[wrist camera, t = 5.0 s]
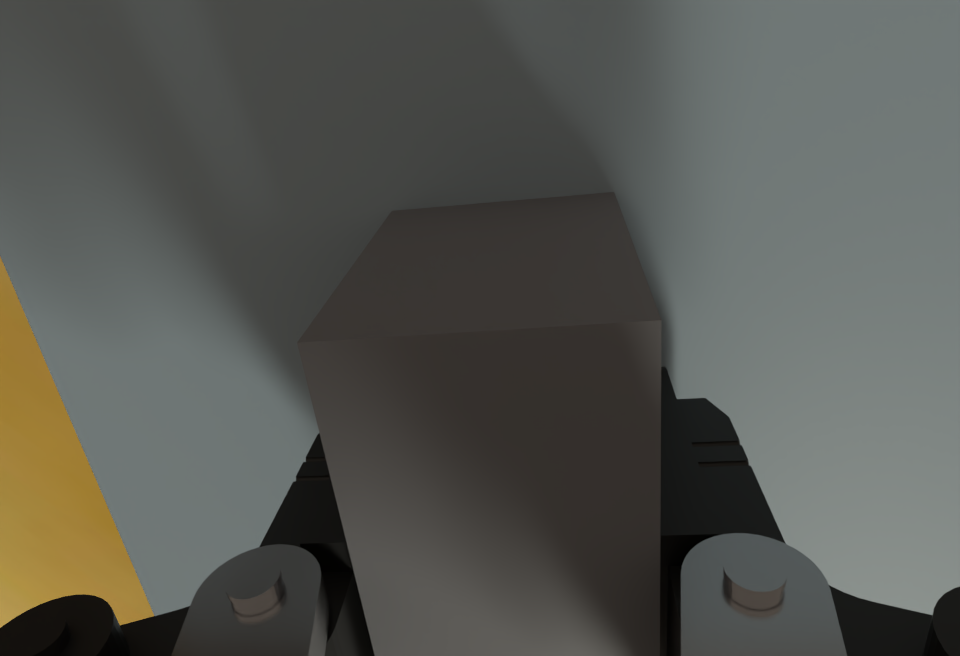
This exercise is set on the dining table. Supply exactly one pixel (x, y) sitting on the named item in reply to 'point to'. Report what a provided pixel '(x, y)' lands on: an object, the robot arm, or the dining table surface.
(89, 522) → the dining table surface
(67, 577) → the dining table surface
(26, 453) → the dining table surface
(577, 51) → the lid
